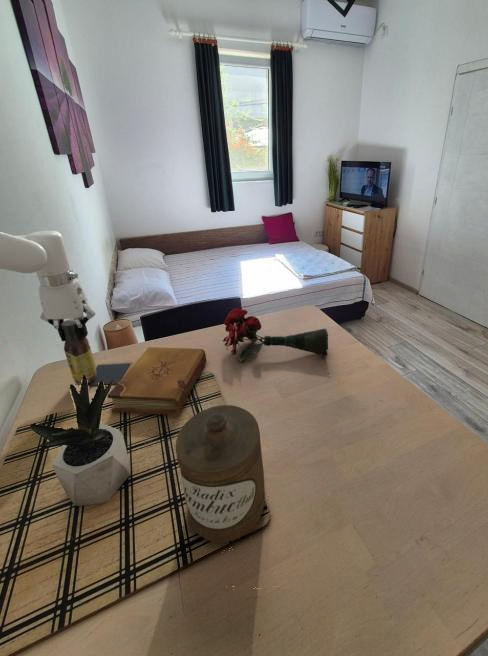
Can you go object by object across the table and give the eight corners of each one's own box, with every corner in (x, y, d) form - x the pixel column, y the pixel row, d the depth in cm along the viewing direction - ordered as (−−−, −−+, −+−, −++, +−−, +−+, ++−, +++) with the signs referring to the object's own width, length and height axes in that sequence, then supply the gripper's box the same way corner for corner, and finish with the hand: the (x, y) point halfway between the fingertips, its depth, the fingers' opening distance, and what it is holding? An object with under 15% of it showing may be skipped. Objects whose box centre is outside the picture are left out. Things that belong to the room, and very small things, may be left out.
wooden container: (177, 541, 58) (156, 452, 49) (202, 466, 71) (189, 386, 63) (259, 546, 57) (253, 456, 48) (269, 469, 70) (265, 389, 62)
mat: (83, 386, 97) (83, 385, 96) (98, 365, 106) (98, 365, 106) (118, 384, 97) (117, 383, 97) (130, 364, 106) (130, 363, 106)
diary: (179, 415, 85) (176, 398, 83) (112, 412, 87) (107, 395, 84) (206, 363, 106) (204, 348, 104) (151, 361, 108) (148, 346, 105)
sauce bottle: (75, 375, 100) (58, 318, 92) (98, 370, 102) (83, 314, 94) (72, 388, 94) (54, 328, 87) (97, 382, 97) (81, 324, 89)
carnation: (323, 369, 115) (223, 366, 114) (321, 320, 123) (228, 317, 122) (330, 358, 101) (217, 355, 100) (327, 303, 109) (223, 300, 108)
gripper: (96, 272, 89) (111, 330, 96) (32, 274, 88) (51, 333, 95) (82, 282, 82) (99, 343, 90) (13, 285, 81) (35, 347, 88)
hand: (74, 337), depth 92 cm, fingers closed on sauce bottle, 4 cm apart
